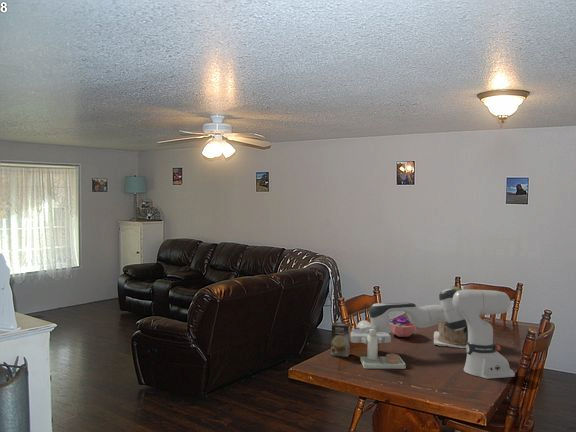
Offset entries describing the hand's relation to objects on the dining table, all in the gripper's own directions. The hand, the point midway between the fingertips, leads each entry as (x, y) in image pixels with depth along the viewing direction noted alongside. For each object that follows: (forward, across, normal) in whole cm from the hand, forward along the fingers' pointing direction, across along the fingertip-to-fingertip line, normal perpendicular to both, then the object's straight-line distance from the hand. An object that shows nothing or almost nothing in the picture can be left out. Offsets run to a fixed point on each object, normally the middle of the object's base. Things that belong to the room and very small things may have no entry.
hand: (372, 342), depth 249 cm
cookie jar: (-40, -55, -12) cm, 69 cm away
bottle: (-1, 0, -8) cm, 8 cm away
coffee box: (-16, +14, -12) cm, 24 cm away
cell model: (-52, -27, -12) cm, 60 cm away
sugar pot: (-1, -10, -11) cm, 15 cm away
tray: (-1, -5, -11) cm, 12 cm away
